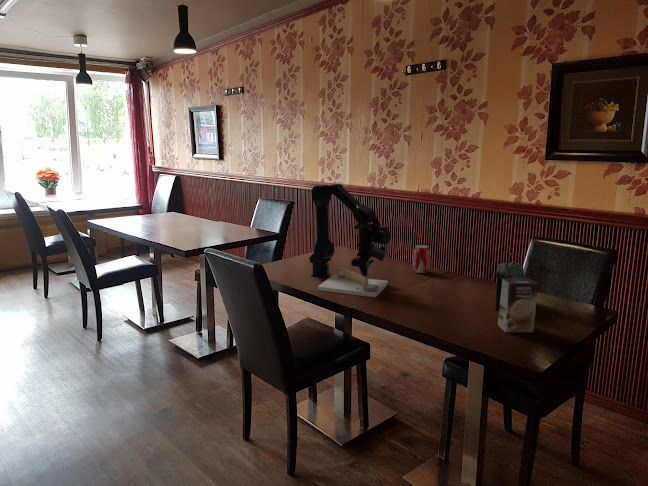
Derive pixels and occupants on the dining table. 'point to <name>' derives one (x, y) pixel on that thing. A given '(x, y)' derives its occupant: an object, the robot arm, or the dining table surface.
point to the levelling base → (353, 286)
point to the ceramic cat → (507, 276)
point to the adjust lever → (352, 276)
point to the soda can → (421, 259)
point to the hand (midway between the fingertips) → (365, 277)
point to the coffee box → (517, 304)
